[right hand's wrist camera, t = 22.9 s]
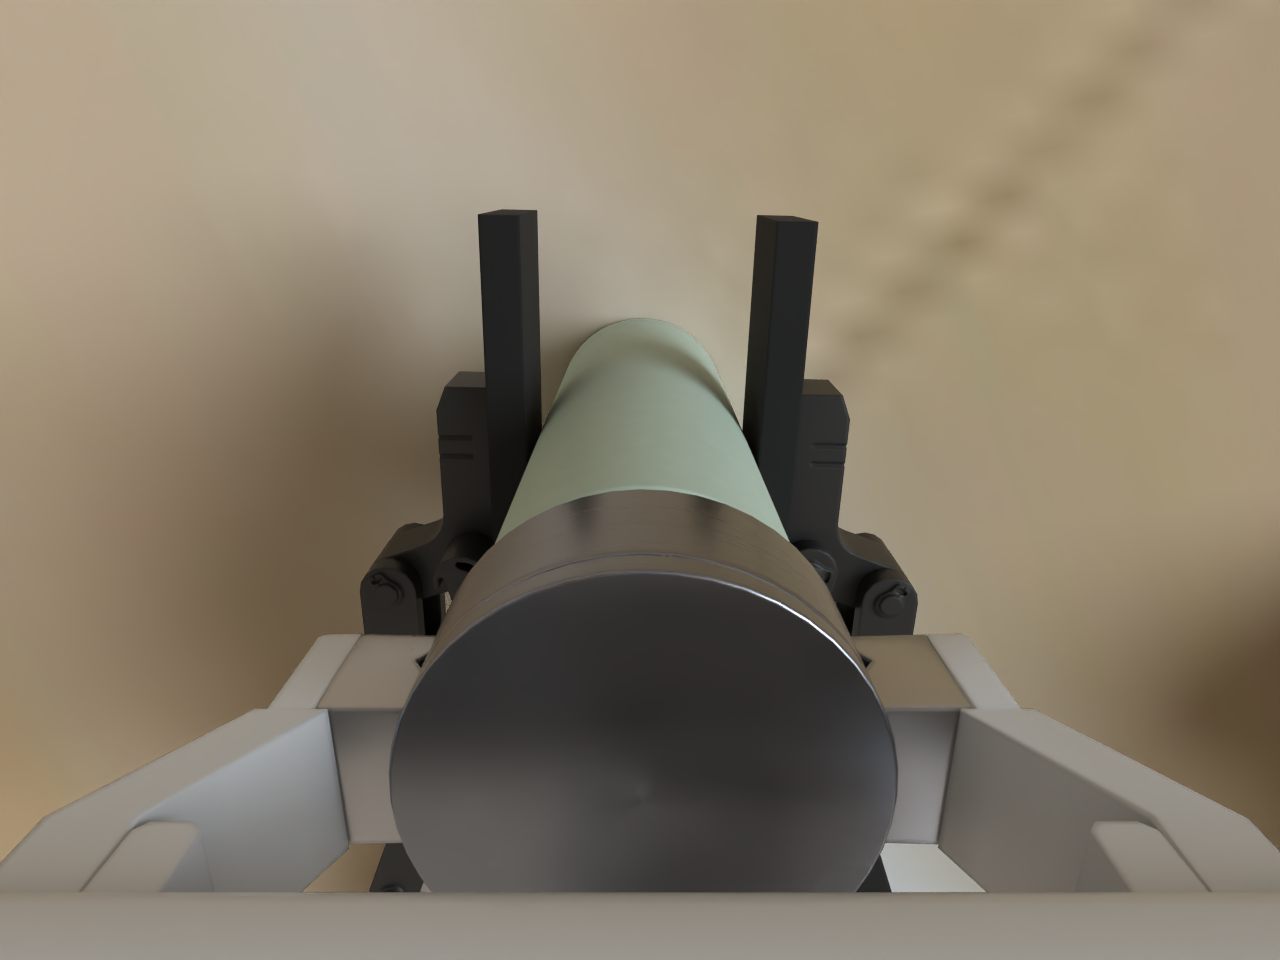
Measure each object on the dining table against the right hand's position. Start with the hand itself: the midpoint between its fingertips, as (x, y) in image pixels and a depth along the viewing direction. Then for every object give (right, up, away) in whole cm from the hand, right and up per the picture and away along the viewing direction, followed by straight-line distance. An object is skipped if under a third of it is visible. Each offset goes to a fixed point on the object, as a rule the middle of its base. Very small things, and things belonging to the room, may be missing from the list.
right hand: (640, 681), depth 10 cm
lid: (0, -1, -2) cm, 2 cm away
